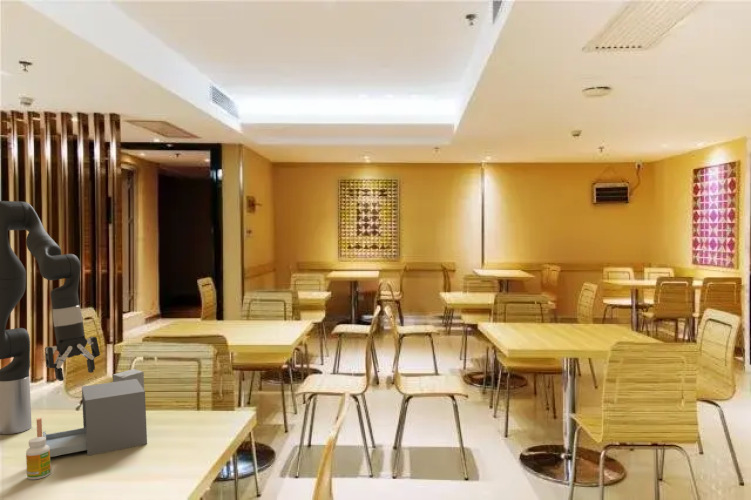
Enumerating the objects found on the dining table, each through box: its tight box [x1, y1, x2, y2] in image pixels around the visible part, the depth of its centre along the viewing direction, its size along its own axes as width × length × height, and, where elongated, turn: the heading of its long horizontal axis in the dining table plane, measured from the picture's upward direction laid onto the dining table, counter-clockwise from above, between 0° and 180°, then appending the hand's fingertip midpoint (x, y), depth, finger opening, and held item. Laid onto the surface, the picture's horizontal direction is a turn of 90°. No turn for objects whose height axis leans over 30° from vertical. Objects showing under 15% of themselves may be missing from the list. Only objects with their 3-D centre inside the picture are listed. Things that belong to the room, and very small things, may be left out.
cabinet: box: [81, 379, 148, 456], centre depth 175 cm, size 18×16×16 cm
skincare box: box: [112, 368, 145, 390], centre depth 198 cm, size 8×7×16 cm
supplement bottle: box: [25, 436, 52, 480], centre depth 151 cm, size 5×5×10 cm
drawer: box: [36, 417, 87, 458], centre depth 169 cm, size 15×16×11 cm
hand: (76, 376), depth 169 cm, fingers open, 8 cm apart
